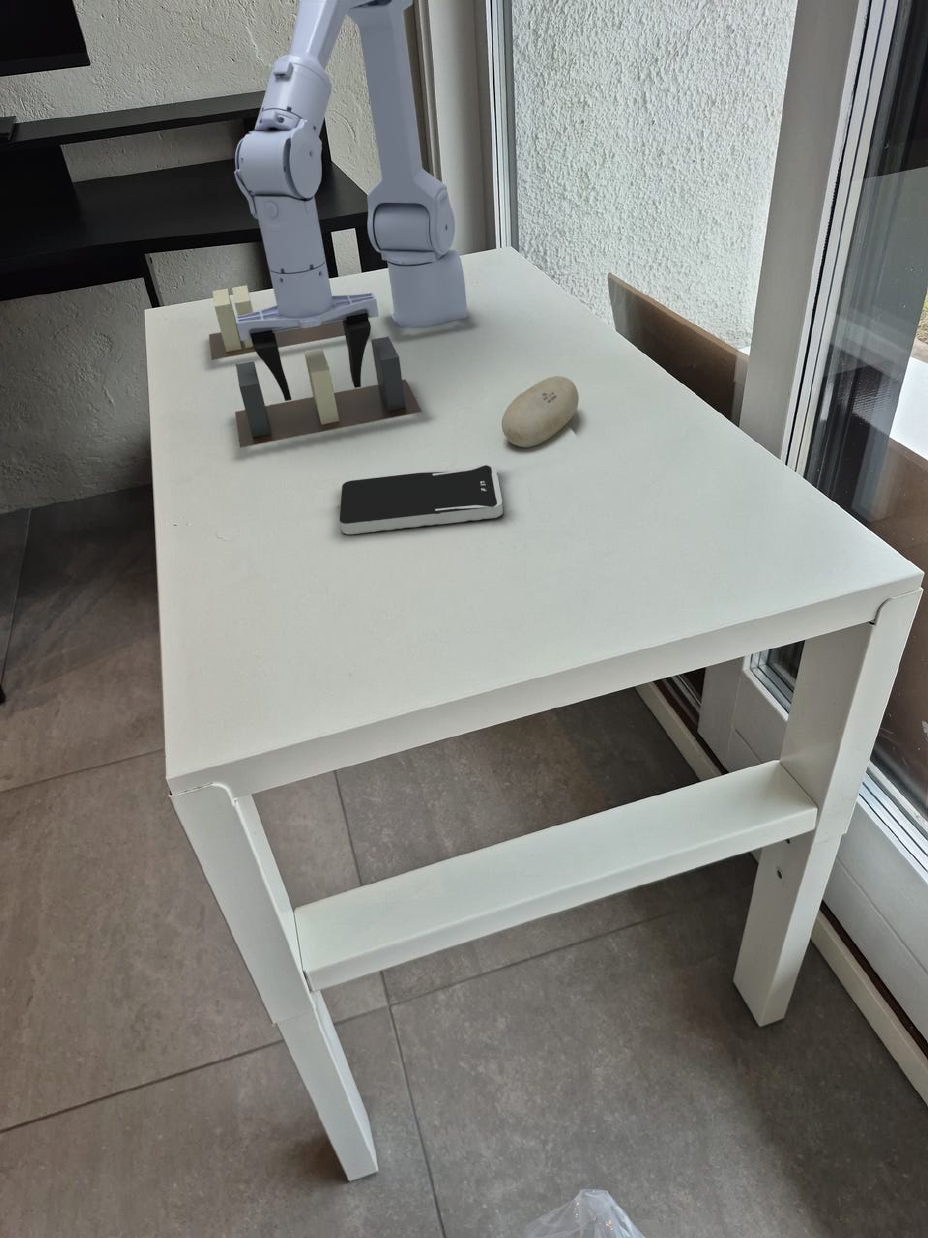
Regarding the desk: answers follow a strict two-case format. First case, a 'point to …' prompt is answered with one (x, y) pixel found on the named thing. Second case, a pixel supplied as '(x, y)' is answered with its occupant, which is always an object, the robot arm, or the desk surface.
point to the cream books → (232, 315)
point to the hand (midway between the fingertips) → (322, 390)
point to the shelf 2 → (305, 418)
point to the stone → (540, 412)
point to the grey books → (385, 372)
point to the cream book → (321, 386)
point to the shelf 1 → (280, 338)
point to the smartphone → (420, 499)
